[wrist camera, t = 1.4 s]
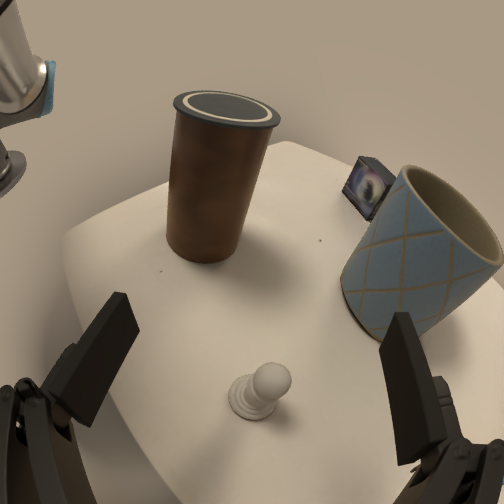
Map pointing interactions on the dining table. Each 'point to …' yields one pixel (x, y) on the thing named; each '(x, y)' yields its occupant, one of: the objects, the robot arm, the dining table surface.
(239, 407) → the chess piece
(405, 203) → the planter
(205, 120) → the slate board
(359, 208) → the small box
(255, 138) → the walnut pedestal
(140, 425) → the dining table surface
